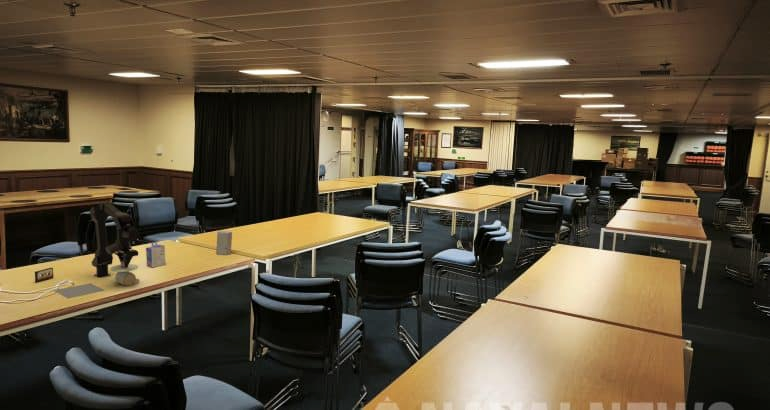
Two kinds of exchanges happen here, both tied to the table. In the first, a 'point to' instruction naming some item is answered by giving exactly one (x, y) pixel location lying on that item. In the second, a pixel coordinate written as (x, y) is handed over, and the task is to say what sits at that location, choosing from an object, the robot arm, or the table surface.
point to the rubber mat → (79, 290)
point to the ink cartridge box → (155, 255)
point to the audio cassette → (44, 275)
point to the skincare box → (224, 242)
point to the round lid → (123, 267)
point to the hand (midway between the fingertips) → (124, 266)
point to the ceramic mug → (126, 278)
